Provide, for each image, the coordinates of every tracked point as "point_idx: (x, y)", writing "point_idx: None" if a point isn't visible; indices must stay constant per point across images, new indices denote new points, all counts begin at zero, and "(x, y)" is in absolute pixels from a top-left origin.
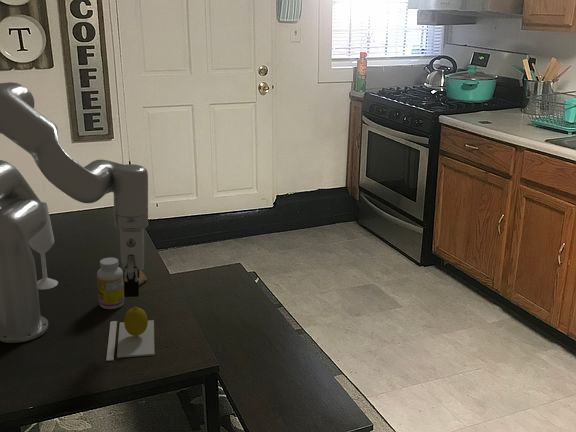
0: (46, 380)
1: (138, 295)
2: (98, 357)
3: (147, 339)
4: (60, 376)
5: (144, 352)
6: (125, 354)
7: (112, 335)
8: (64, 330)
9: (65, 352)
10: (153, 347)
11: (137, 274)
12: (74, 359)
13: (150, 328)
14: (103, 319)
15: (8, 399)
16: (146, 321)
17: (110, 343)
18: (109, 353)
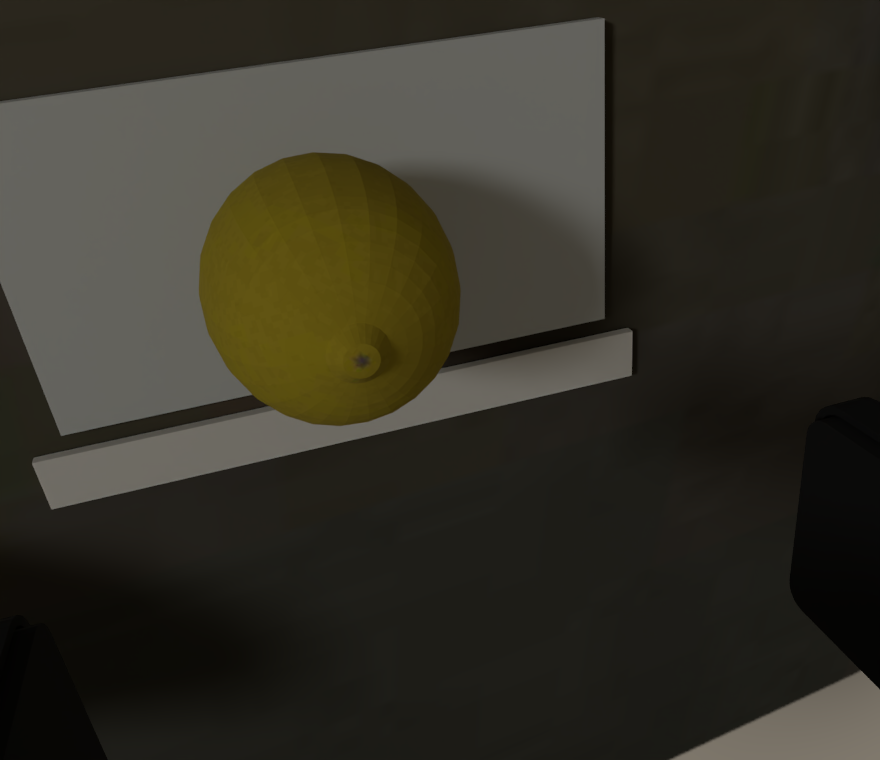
0: (749, 596)
1: (867, 399)
2: (574, 430)
3: (363, 121)
4: (730, 553)
5: (575, 114)
6: (588, 263)
7: (296, 428)
8: (225, 727)
9: (496, 620)
10: (503, 40)
11: (34, 703)
12: (578, 550)
13: (139, 123)
14: (6, 568)
15: (846, 667)
16: (366, 169)
17: (416, 408)
18: (552, 377)
